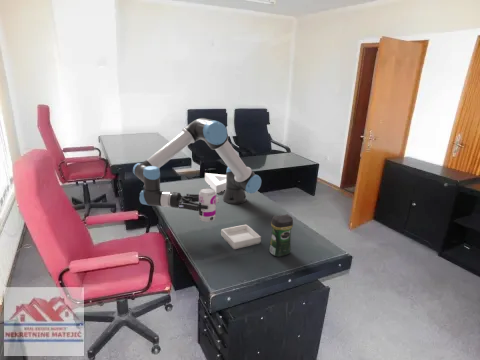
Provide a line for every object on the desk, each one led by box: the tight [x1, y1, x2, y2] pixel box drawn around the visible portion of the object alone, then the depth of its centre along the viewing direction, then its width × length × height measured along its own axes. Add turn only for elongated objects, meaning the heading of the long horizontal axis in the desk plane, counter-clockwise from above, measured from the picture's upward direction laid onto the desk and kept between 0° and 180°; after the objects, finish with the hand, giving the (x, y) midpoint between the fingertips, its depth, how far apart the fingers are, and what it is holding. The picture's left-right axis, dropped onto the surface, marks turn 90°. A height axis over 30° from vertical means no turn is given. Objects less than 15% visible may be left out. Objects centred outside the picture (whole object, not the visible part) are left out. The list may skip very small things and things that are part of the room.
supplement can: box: [198, 187, 217, 223], centre depth 151 cm, size 8×8×15 cm
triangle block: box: [204, 172, 226, 194], centre depth 224 cm, size 30×26×6 cm
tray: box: [220, 224, 262, 250], centre depth 154 cm, size 15×15×4 cm
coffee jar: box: [268, 213, 294, 257], centre depth 141 cm, size 10×8×19 cm
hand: (216, 203), depth 150 cm, fingers closed on supplement can, 8 cm apart
